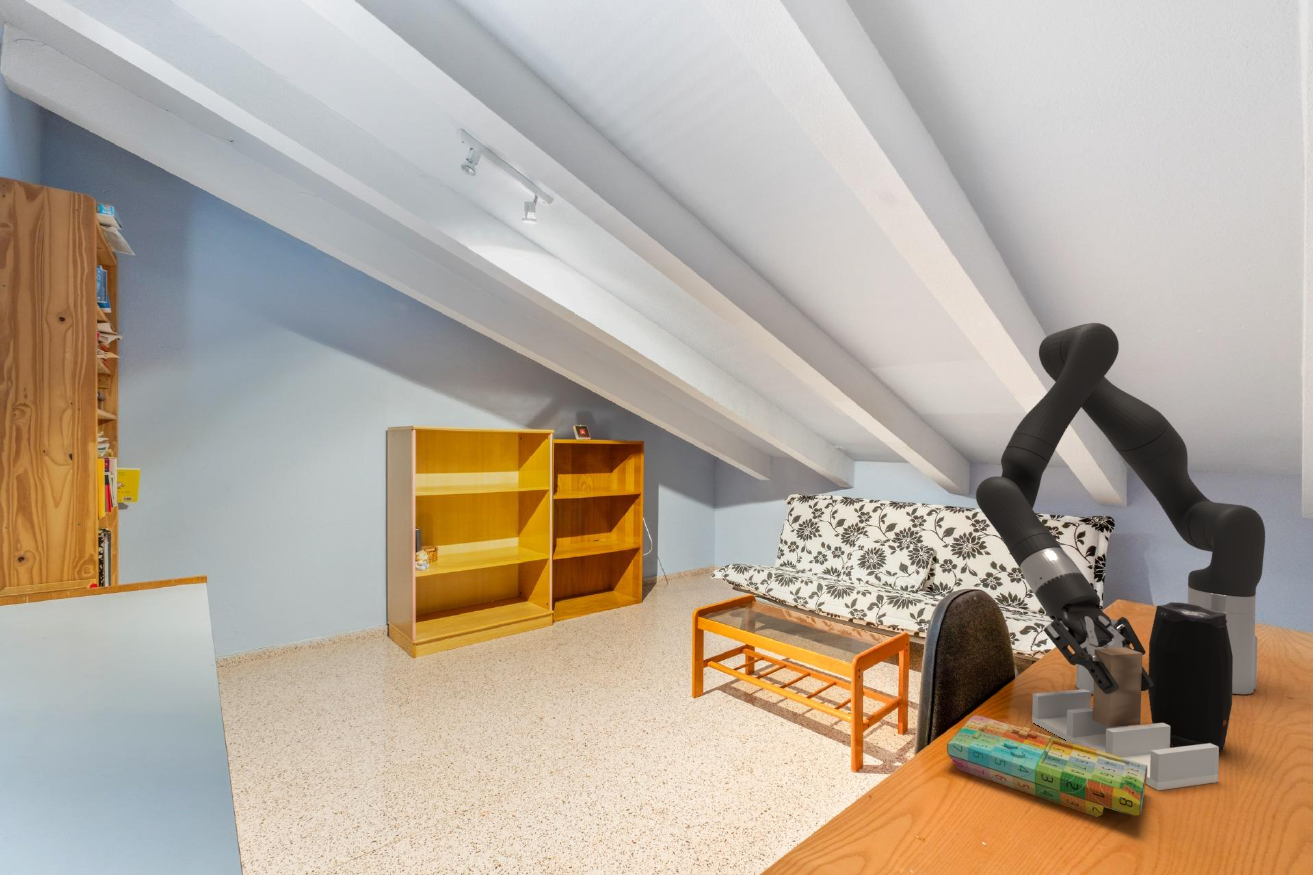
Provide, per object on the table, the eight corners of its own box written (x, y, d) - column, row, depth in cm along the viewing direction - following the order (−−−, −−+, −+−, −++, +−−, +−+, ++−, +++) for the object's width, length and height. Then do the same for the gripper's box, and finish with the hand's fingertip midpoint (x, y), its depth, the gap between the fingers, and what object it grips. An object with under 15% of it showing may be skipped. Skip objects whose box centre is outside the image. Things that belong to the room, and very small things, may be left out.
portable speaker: (1246, 758, 87) (1250, 617, 87) (1178, 756, 87) (1182, 615, 87) (1194, 729, 95) (1198, 601, 96) (1132, 727, 96) (1136, 599, 96)
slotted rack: (1084, 717, 99) (1084, 689, 99) (1218, 782, 80) (1218, 747, 80) (1032, 722, 96) (1032, 693, 96) (1157, 790, 78) (1158, 754, 78)
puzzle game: (972, 709, 90) (1147, 757, 77) (971, 741, 90) (1146, 796, 77) (947, 736, 82) (1140, 796, 68) (946, 772, 82) (1139, 839, 68)
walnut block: (1123, 716, 90) (1125, 647, 90) (1140, 724, 88) (1142, 653, 88) (1092, 719, 89) (1094, 649, 89) (1109, 727, 87) (1111, 655, 87)
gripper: (1035, 571, 94) (1107, 681, 82) (1110, 569, 98) (1190, 675, 86) (1006, 598, 99) (1070, 705, 87) (1079, 595, 103) (1150, 698, 91)
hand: (1129, 689), depth 87 cm, fingers closed on walnut block, 5 cm apart
